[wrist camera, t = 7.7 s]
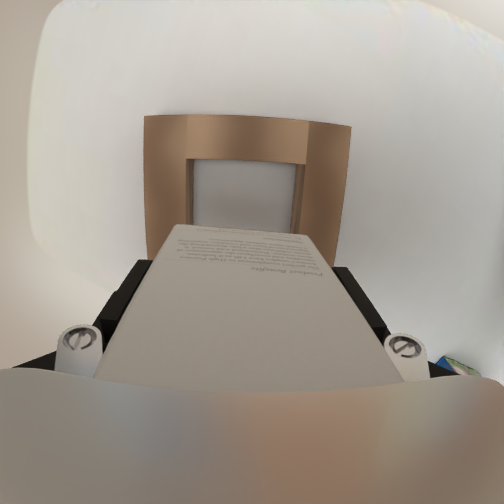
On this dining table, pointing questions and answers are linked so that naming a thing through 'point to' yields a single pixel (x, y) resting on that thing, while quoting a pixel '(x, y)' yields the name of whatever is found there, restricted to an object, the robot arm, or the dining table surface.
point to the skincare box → (243, 319)
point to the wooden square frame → (245, 148)
